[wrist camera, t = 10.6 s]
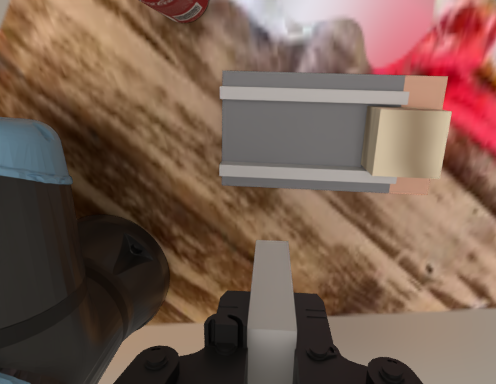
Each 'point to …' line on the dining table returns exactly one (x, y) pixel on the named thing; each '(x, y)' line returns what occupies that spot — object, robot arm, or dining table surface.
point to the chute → (312, 128)
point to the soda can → (179, 8)
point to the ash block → (405, 141)
